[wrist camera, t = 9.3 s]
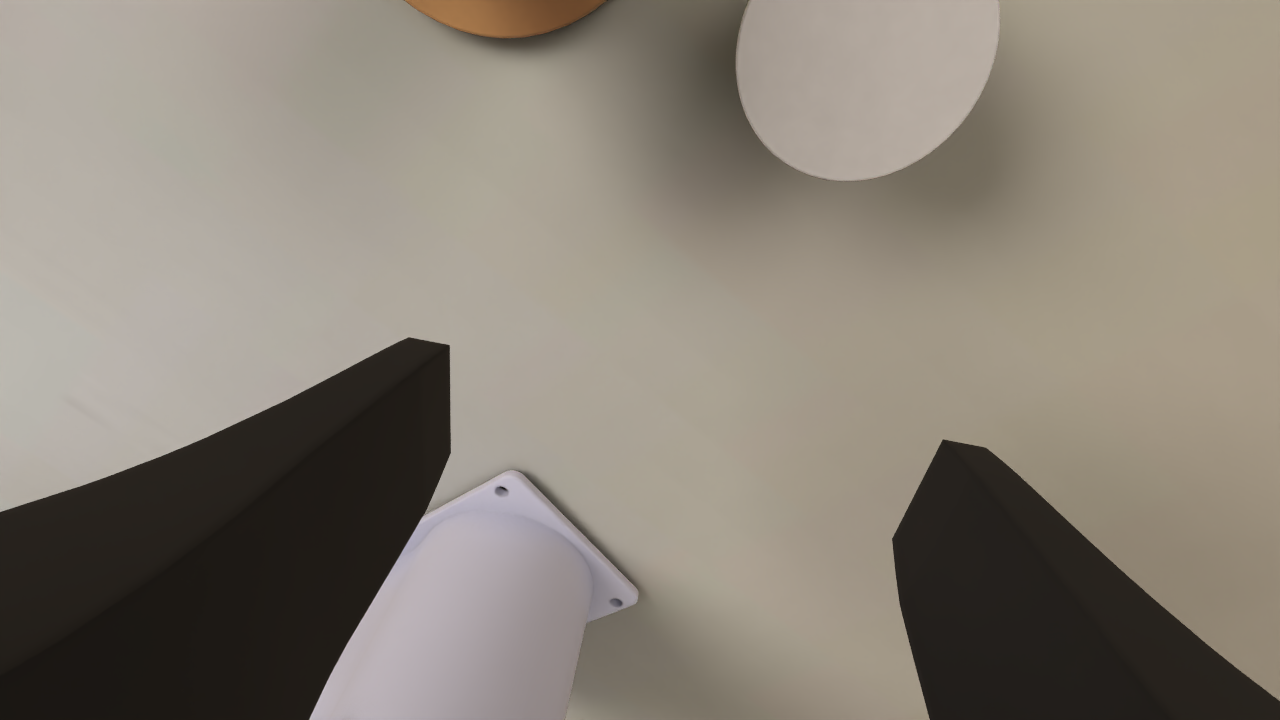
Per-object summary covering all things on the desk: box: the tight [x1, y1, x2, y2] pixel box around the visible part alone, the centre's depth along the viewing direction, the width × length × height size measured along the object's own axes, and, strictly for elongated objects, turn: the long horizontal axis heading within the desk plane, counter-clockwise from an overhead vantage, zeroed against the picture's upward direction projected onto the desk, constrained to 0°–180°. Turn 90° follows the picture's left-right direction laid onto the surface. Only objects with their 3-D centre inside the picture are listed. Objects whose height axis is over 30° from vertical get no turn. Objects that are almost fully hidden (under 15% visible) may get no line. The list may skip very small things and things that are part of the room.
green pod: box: [736, 0, 1000, 181], centre depth 14 cm, size 5×5×4 cm
